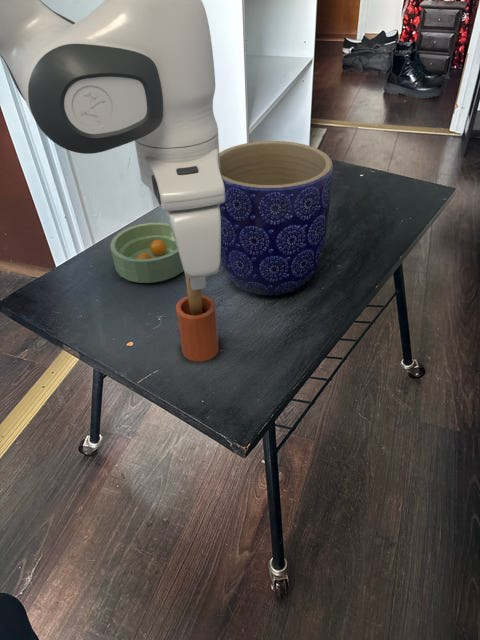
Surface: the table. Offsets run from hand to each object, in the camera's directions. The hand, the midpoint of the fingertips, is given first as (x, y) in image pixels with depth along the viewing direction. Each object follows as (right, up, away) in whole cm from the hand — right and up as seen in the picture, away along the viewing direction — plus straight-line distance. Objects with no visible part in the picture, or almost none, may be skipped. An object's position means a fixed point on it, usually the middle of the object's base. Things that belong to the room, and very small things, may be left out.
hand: (191, 267), depth 61 cm
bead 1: (-11, +4, +24) cm, 27 cm away
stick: (0, -11, +9) cm, 14 cm away
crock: (0, -11, +9) cm, 14 cm away
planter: (+11, +1, +23) cm, 26 cm away
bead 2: (-9, +7, +28) cm, 30 cm away
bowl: (-10, +4, +27) cm, 29 cm away
